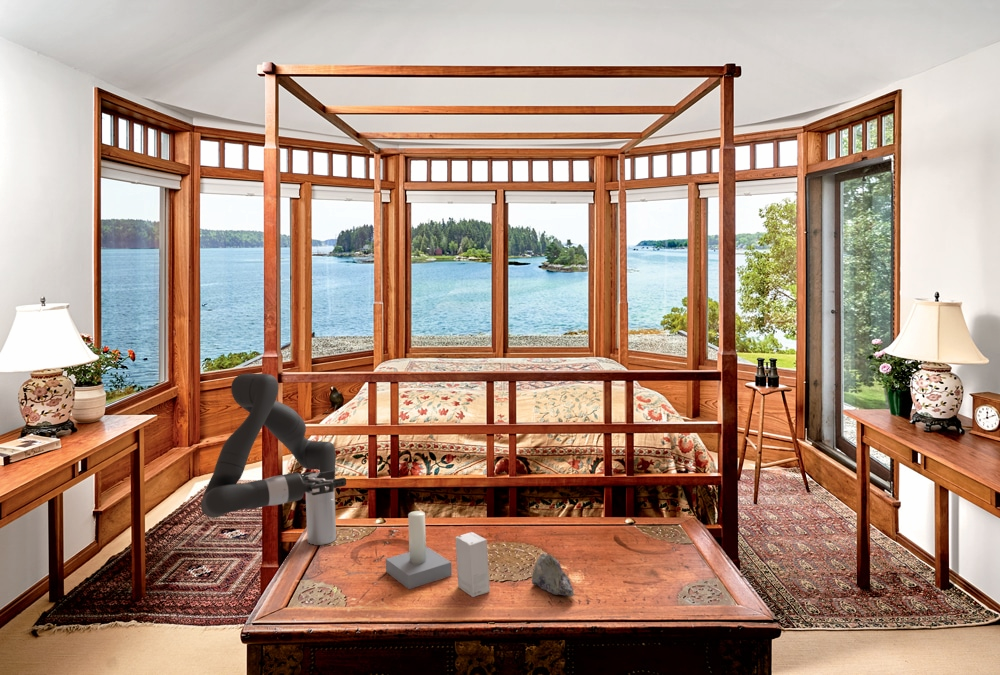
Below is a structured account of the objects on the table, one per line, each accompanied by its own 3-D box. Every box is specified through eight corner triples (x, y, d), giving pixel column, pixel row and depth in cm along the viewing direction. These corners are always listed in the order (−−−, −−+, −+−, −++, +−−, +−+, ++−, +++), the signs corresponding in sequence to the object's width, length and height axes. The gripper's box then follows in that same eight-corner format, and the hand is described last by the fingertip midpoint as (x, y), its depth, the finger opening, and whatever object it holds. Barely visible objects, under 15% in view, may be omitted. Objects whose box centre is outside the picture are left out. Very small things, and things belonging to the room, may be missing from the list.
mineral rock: (575, 603, 173) (575, 566, 172) (534, 604, 172) (534, 567, 172) (568, 580, 186) (568, 546, 185) (531, 581, 185) (530, 547, 184)
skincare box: (490, 592, 179) (489, 539, 178) (471, 598, 176) (470, 545, 174) (474, 581, 186) (473, 530, 185) (455, 586, 183) (454, 535, 181)
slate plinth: (386, 571, 193) (385, 558, 192) (427, 559, 201) (427, 546, 201) (408, 589, 181) (408, 575, 181) (451, 575, 190) (451, 562, 189)
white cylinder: (406, 559, 191) (405, 513, 190) (421, 555, 194) (419, 509, 193) (414, 565, 187) (413, 518, 186) (429, 561, 190) (427, 514, 189)
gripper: (290, 481, 170) (349, 470, 179) (273, 469, 181) (329, 459, 191) (292, 509, 170) (350, 497, 180) (274, 496, 182) (330, 484, 191)
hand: (339, 477), depth 185 cm, fingers open, 8 cm apart
